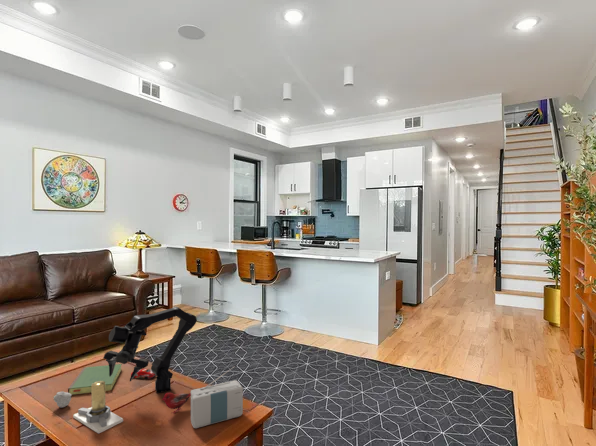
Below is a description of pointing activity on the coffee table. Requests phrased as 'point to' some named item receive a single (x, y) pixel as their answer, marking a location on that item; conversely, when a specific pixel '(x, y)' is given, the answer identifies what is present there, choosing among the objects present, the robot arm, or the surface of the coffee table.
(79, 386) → the hardcover book
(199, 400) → the stereo radio cassette player
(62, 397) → the grey rounded lump
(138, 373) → the race car
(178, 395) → the decorative bird figurine
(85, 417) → the coupling stand
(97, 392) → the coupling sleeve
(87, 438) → the coffee table surface
